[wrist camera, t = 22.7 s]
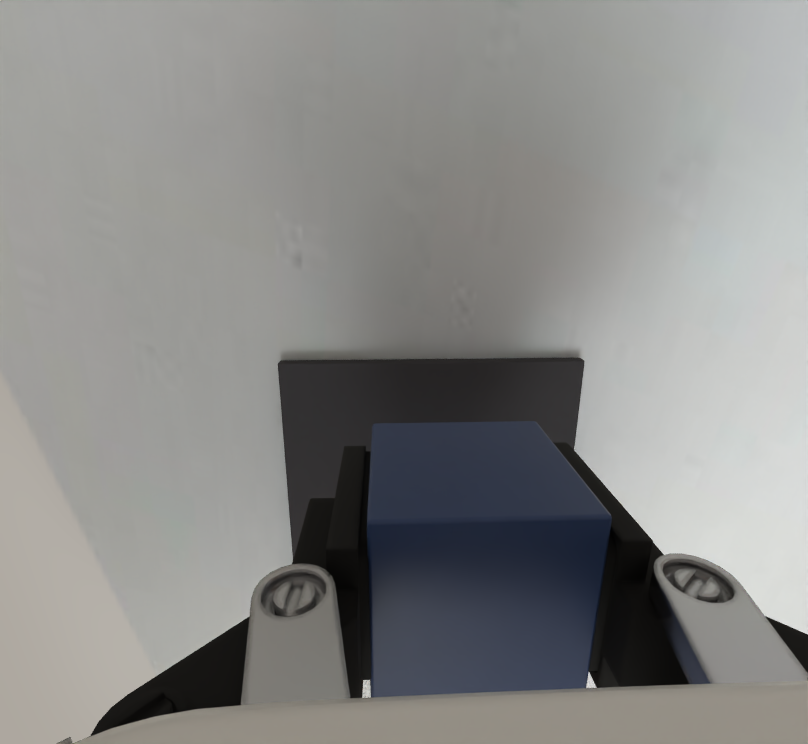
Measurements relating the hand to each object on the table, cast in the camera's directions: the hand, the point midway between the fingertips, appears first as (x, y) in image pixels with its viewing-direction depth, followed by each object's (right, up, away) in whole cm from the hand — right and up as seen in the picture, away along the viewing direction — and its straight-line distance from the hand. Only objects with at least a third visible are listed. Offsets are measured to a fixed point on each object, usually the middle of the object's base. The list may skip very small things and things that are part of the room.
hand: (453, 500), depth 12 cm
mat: (0, -1, +5) cm, 5 cm away
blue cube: (0, 0, 0) cm, 0 cm away
